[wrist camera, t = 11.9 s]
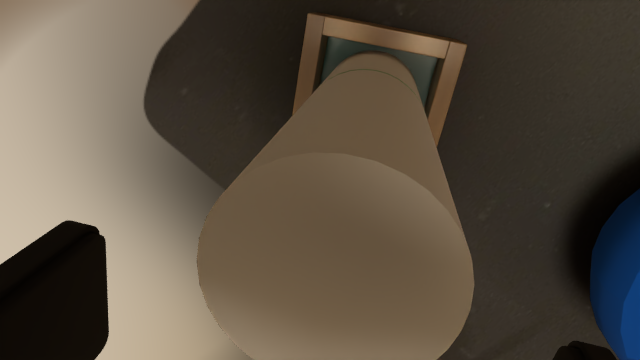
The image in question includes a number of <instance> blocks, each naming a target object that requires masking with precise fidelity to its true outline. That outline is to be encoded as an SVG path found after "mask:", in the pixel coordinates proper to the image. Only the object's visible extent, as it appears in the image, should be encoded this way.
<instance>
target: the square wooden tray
mask: <svg viewBox="0 0 640 360" xmlns="http://www.w3.org/2000/svg"><path fill="white" fill-rule="evenodd" d="M466 48H467V44H465V43H463V42H461V41H459V40H456V39H451V38H446V37H441V36H435V35H430V34H425V33H420V32H415V31H410V30H405V29H400V28H394V27H389V26H384V25H379V24H374V23H369V22H364V21H359V20H354V19H348V18H343V17H338V16H333V15H328V14H323V13H308V16H307V22H306V29H305V35H304V42H303V48H302V55H301V61H300V68H299V74H298V81H297V87H296V94H295V100H294V107H293V113H292V116H293V115H294V114H295V113H296V111H297V110H298V109H299V108H300V107H301V106H302V105H303V104H304V103H305V101H306V100H307V99H308V98H309V97H310V96H311V95H312V94H313V93H314V91H315V90H316V89H317V88H318V87H319V86H320V85H321V84H322V83H323V81H324V80H325V79H326V78H327V77H328V76H329V75H330V74H331V73H332V71H333V70H334V69H335V68H336V67H337V66H338V65H339V64H340V63H341V62H342V61H343V60H345V59H346V58H348V57H349V56H351V55H353V54H356V53H358V52H362V51H367V50H378V51H382V52H386V53H389V54H391V55H393V56H395V57H397V58H398V59H399V60H401V61H402V62H403V63H404V64H405V65H406V66H407V67H408V69H409V70H410V72H411V73H412V75H413V78H414V80H415V83H416V86H417V89H418V92H419V95H420V99H421V102H422V105H423V108H424V111H425V114H426V117H427V120H428V123H429V126H430V130H431V133H432V136H433V139H434V142H435V145H436V148H437V145H438V142H439V139H440V135H441V132H442V128H443V125H444V122H445V118H446V115H447V112H448V108H449V105H450V102H451V98H452V95H453V92H454V88H455V85H456V82H457V78H458V75H459V72H460V68H461V65H462V62H463V58H464V55H465V52H466Z"/></svg>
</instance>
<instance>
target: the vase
mask: <svg viewBox="0 0 640 360" xmlns="http://www.w3.org/2000/svg"><path fill="white" fill-rule="evenodd" d="M590 301H591V305H592V308H593V312H594V316H595V319H596V323H597V325H598V327H599V329H600V330H601V332H602V334H603V335H604V337H605V338H606V340H607V342H608V343H609V345H610V346H611V348H612V349H613V351H614V352H615V353H616V355H617V356H618V358H619V359H620V360H640V189H638V190H637V191H636V192H635V193H633V194H632V195H631V196H630V197H628V198H627V199H626V200H625V201H623V202H622V203H621V204H620V205H619V206H618V207H617V209H616V210H615V211H614V212H613V214H612V215H611V216H610V218H609V219H608V220H607V221H606V223H605V224H604V225H603V227H602V229H601V231H600V233H599V236H598V238H597V241H596V243H595V245H594V248H593V250H592V260H591V272H590Z"/></svg>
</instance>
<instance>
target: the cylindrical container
mask: <svg viewBox="0 0 640 360" xmlns="http://www.w3.org/2000/svg"><path fill="white" fill-rule="evenodd" d="M197 267H198V274H199V283H200V286H201V289H202V292H203V295H204V298H205V300H206V303H207V306H208V308H209V310H210V311H211V313H212V315H213V316H214V318H215V320H216V321H217V323H218V325H219V326H220V328H221V329H222V330H223V331H224V332H225V333H226V335H227V336H228V337H229V338H230V339H231V340H232V341H233V343H234V344H235V345H236V346H238V347H239V348H240V349H241V350H242V351H244V352H245V353H246V354H247V355H248V356H249V357H251V358H252V359H254V360H436V359H438V358H439V357H440V356H441V355H442V354H443V353H444V352H445V351H447V350H448V348H449V347H450V346H451V344H452V343H453V342H454V340H455V339H456V338H457V336H458V335H459V333H460V332H461V330H462V328H463V326H464V323H465V321H466V319H467V316H468V314H469V312H470V309H471V303H472V297H473V290H474V276H473V266H472V258H471V255H470V252H469V248H468V245H467V242H466V239H465V236H464V233H463V230H462V227H461V223H460V220H459V217H458V214H457V211H456V208H455V205H454V202H453V198H452V195H451V192H450V189H449V186H448V183H447V180H446V177H445V173H444V170H443V167H442V164H441V161H440V158H439V155H438V151H437V148H436V145H435V142H434V139H433V136H432V133H431V130H430V126H429V123H428V120H427V117H426V114H425V111H424V108H423V105H422V102H421V99H420V95H419V92H418V89H417V86H416V83H415V80H414V78H413V75H412V73H411V72H410V70H409V69H408V67H407V66H406V65H405V64H404V63H403V62H402V61H401V60H399V59H398V58H397V57H395V56H393V55H391V54H389V53H386V52H382V51H378V50H367V51H362V52H358V53H356V54H353V55H351V56H349V57H348V58H346V59H345V60H343V61H342V62H341V63H340V64H339V65H338V66H337V67H336V68H335V69H334V70H333V71H332V73H331V74H330V75H329V76H328V77H327V78H326V79H325V80H324V81H323V83H322V84H321V85H320V86H319V87H318V88H317V89H316V90H315V91H314V93H313V94H312V95H311V96H310V97H309V98H308V99H307V100H306V101H305V103H304V104H303V105H302V106H301V107H300V108H299V109H298V110H297V111H296V113H295V114H294V115H293V116H292V117H291V118H290V119H289V120H288V121H287V123H286V124H285V125H284V126H283V127H282V128H281V129H280V130H279V131H278V133H277V134H276V135H275V136H274V137H273V138H272V139H271V140H270V141H269V143H268V144H267V145H266V146H265V147H264V148H263V149H262V150H261V151H260V153H259V154H258V155H257V156H256V157H255V158H254V159H253V160H252V161H251V163H250V164H249V165H248V166H247V167H246V168H245V169H244V170H243V171H242V173H241V174H240V175H239V176H238V177H237V178H236V179H235V180H234V181H233V183H232V184H231V185H230V186H229V187H228V188H227V189H226V190H225V191H224V193H223V194H222V195H221V196H220V197H219V198H218V200H217V201H216V203H215V204H214V206H213V208H212V209H211V211H210V212H209V214H208V216H207V217H206V220H205V223H204V226H203V229H202V231H201V235H200V237H199V244H198V255H197Z"/></svg>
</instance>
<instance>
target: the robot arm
mask: <svg viewBox="0 0 640 360" xmlns="http://www.w3.org/2000/svg"><path fill="white" fill-rule="evenodd" d="M105 243H106V242H105V238H104V236H102V235H100V234H99V230H98V229H97V228H96V227H95V226H91V225H87V224H82V223H78V222H74V221H65V222H62V223H61V224H59V225H58V226H56V227H55V228H53V229H52V230H50V231H49V232H47V233H46V234H44V235H43V236H42V237H40V238H39V239H37V240H36V241H34V242H33V243H31V244H30V245H28V246H27V247H26V248H24V249H22V250H21V251H20V252H18V253H17V254H15V255H14V256H12V257H11V258H9V259H8V260H6V261H5V262H4V263H2V264H1V265H0V360H95V358H96V357H97V356H98V355H99V354H100V352H101V351H102V349H103V348H104V346H105V344H106V342H107V338H108V334H109V333H108V332H109V327H108V300H107V299H108V298H107V270H106V244H105ZM553 360H616V358H615V356H614V355H613V353H612V352H611V351H610V350H609V349H607V348H605V347H600V346H596V345H592V344H588V343H584V342H579V341H572V342H571V343H569V345H568V346H562V347H560V348H559V349H558V351H557V353H556V354H555V356H554V358H553Z"/></svg>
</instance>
